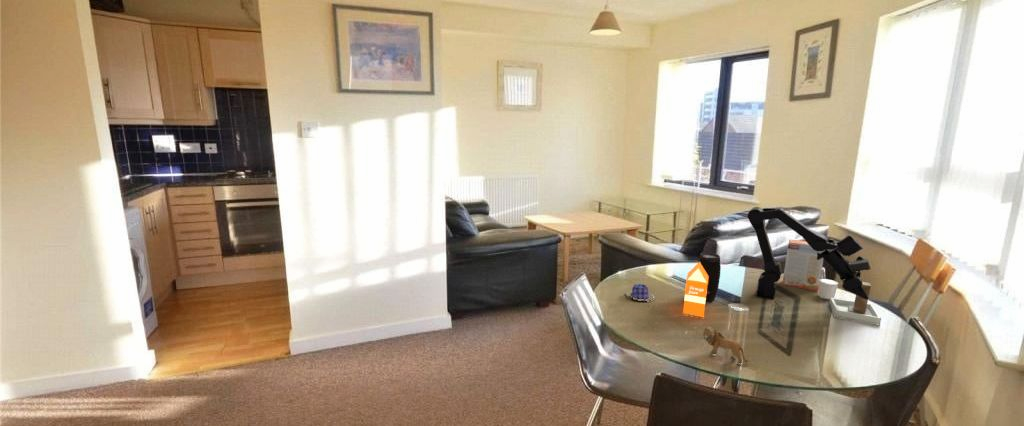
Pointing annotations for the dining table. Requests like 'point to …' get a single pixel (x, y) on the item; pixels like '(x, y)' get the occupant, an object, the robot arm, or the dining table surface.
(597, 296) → the dining table surface
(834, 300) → the tray
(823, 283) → the white cylinder
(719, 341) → the lion figurine
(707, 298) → the black tall cylinder
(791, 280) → the cracker box
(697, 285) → the orange juice
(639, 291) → the plaid hat
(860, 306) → the wooden post with base
